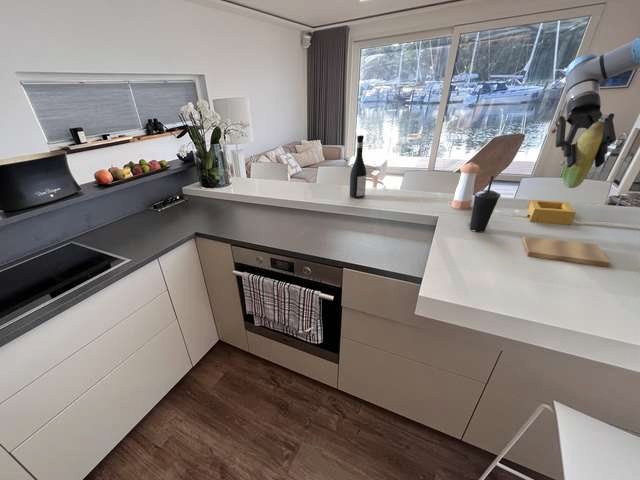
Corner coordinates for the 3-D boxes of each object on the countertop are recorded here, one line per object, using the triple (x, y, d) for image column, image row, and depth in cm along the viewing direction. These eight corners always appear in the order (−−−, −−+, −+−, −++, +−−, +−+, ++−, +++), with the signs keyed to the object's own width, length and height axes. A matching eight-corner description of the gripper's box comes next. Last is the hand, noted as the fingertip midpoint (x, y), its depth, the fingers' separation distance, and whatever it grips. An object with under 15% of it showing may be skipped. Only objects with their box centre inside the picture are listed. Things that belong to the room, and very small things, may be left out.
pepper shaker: (448, 204, 131) (457, 161, 122) (463, 203, 131) (474, 159, 122) (457, 210, 125) (468, 164, 116) (473, 208, 125) (486, 163, 116)
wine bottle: (367, 195, 152) (372, 134, 137) (359, 199, 148) (363, 137, 133) (354, 193, 158) (357, 134, 143) (346, 197, 153) (348, 136, 138)
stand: (562, 214, 113) (567, 202, 110) (569, 225, 104) (575, 212, 102) (525, 211, 118) (530, 199, 116) (529, 221, 110) (534, 208, 107)
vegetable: (585, 191, 92) (618, 122, 81) (561, 190, 94) (589, 123, 83) (576, 186, 96) (605, 120, 86) (553, 185, 98) (579, 121, 88)
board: (594, 248, 89) (596, 244, 88) (607, 267, 81) (610, 262, 80) (522, 240, 98) (523, 236, 97) (527, 256, 89) (528, 251, 88)
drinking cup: (493, 233, 103) (511, 178, 93) (469, 233, 105) (485, 179, 95) (484, 225, 110) (500, 172, 100) (462, 225, 111) (475, 173, 101)
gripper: (613, 108, 93) (617, 171, 88) (540, 112, 99) (540, 171, 95) (632, 89, 86) (638, 156, 81) (552, 95, 92) (553, 158, 88)
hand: (585, 164), depth 88 cm, fingers closed on vegetable, 6 cm apart
